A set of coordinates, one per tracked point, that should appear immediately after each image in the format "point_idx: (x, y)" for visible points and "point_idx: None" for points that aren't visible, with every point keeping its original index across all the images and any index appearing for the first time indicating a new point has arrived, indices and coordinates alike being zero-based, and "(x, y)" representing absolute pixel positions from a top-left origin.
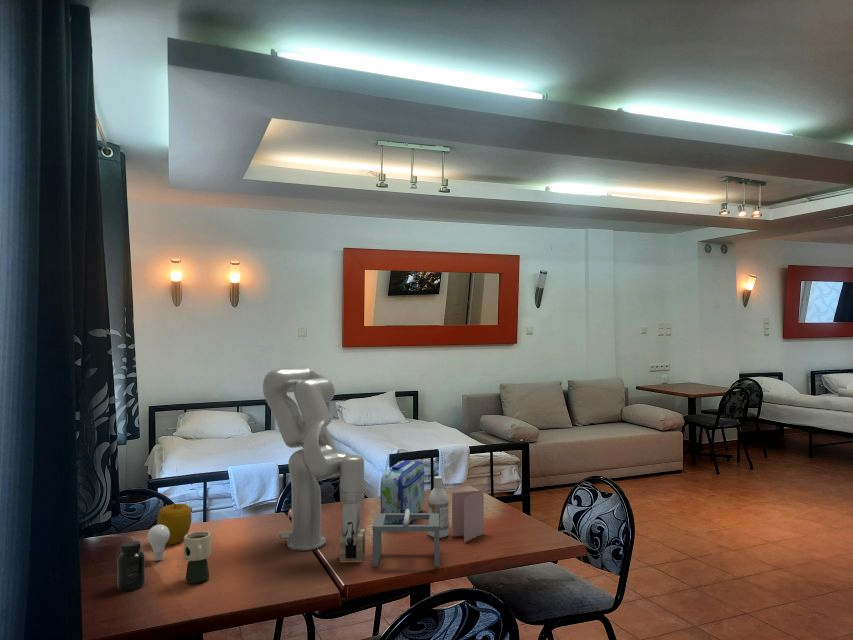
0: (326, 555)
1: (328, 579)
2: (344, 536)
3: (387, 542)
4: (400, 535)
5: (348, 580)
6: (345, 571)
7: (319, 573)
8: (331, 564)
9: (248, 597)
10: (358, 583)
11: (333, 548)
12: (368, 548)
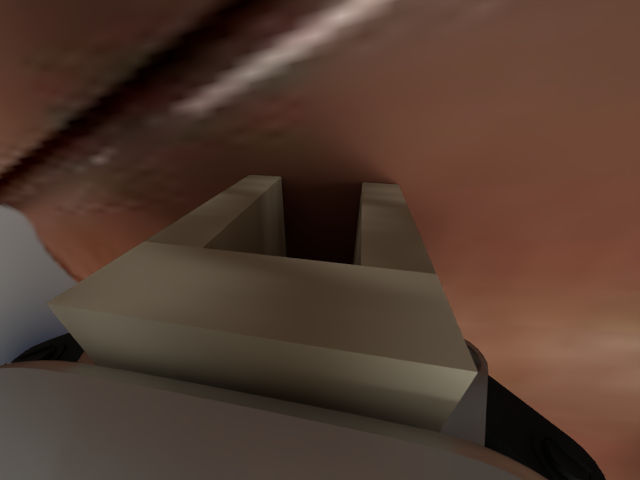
0: (410, 23)
1: (11, 133)
2: (93, 357)
3: (532, 395)
4: (611, 443)
5: (63, 234)
6: (143, 217)
7: (42, 45)
8: (212, 117)
9: None
10: (63, 269)
11: (609, 71)
12: (473, 324)
